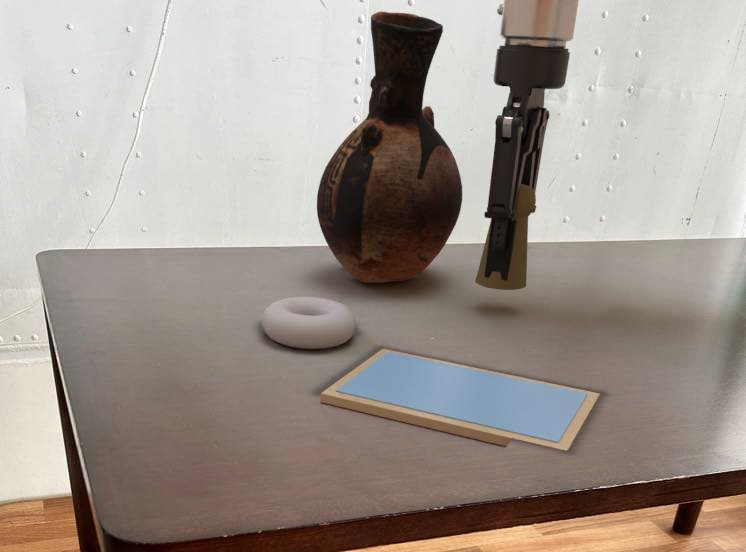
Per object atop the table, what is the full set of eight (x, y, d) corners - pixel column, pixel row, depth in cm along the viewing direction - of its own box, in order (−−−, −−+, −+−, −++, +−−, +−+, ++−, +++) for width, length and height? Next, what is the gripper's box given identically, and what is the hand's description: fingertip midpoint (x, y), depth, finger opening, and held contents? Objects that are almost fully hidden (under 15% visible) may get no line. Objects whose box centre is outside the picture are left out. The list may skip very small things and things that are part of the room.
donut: (370, 335, 90) (290, 317, 93) (372, 303, 88) (291, 286, 91) (328, 362, 82) (243, 341, 85) (331, 328, 80) (243, 308, 83)
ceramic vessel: (372, 254, 120) (388, 13, 104) (478, 276, 112) (513, 19, 96) (284, 281, 106) (287, 5, 89) (399, 310, 98) (425, 12, 81)
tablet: (598, 402, 76) (600, 392, 75) (565, 461, 65) (567, 449, 65) (382, 356, 84) (382, 347, 83) (320, 402, 73) (320, 391, 72)
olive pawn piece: (466, 283, 97) (478, 183, 91) (489, 274, 101) (501, 178, 95) (513, 292, 94) (528, 190, 88) (534, 282, 98) (550, 184, 93)
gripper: (520, 43, 93) (492, 255, 105) (474, 41, 79) (448, 284, 92) (586, 46, 90) (550, 263, 102) (550, 44, 77) (513, 295, 89)
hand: (502, 273), depth 97 cm, fingers closed on olive pawn piece, 4 cm apart
